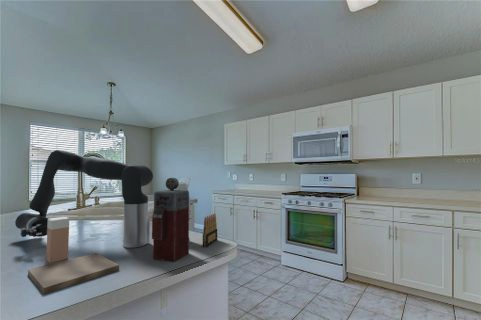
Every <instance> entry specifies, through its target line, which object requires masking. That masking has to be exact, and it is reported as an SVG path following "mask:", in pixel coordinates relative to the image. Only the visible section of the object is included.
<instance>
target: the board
mask: <svg viewBox="0 0 481 320" xmlns="http://www.w3.org/2000/svg"><path fill="white" fill-rule="evenodd" d="M116 271H120V264H119V263H116V262H114V261H112V260H110V259H109V258H106V257H104V256H103V255H101V254H99V253H97V252H94V253H90V254H86V255H82V256H78V257H74V258H70V259H65V260H60V261H56V262H52V263H49V264H46V265H42V266H39V267H38V266H37V267H34V268H30V269H28V270H27V276H28V277H29V278H30V279H31V280H32V282H33V283H34V284H35V286H37V288H38V289H39V290H40V292H41V293H42V294H43V295H45V294H48V293H51V292H55V291H57V290H62V289H64V288H68V287H70V286H74V285H77V284H80V283H83V282H87V281H88V280H89V281H90V280H92V279H96V278H98V277H101V276H104V275H108V274H110V273H114V272H116Z"/></svg>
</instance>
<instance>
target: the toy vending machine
mask: <svg viewBox="0 0 481 320" xmlns="http://www.w3.org/2000/svg"><path fill="white" fill-rule="evenodd" d="M178 185H179V180H178V178H176V177H168V178H167V179H166V180H165V187H166V189H164V190H157V191H154V194H153V212H152V218H151V219H152V220H151V239H152V240H153V244H152V245H153V248H152V252H153V253H152V258H153V260H158V261H165V262H172V263H175V262H177V261H179V260H180V259H182V258H184V257H185V256H187V255H189V254H190V253H189V251H190V249H189V247H190V245H189V243H190V242H189V239H190V236H189V235H190V234H189V233H190V218H189V196H190V192H189V189H188V190H175V189H176V188H177V187H178Z"/></svg>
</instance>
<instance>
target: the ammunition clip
mask: <svg viewBox="0 0 481 320" xmlns="http://www.w3.org/2000/svg"><path fill="white" fill-rule="evenodd" d="M217 227H218V225H217V215H216V213H215V212H214V213H212V214H210V215H207V216H204V221H203V229H202V230H203V233H202V248H206V249H207V248H208V247H210V246H211V245H212V244H214V243H216V242H217V241H218V228H217Z"/></svg>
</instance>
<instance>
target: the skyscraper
mask: <svg viewBox="0 0 481 320" xmlns="http://www.w3.org/2000/svg"><path fill="white" fill-rule="evenodd" d="M183 180H188V182H186V181H183ZM178 182H179V185H178V187H177V188H176V189H174V190H188V191H189V185H190V182H191V178H190V177H183V178H180V179H179V180H178ZM190 198H191V197H190V195H189V219H190V216H191V199H190ZM190 239H191V238H189V243H191V240H190Z"/></svg>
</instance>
